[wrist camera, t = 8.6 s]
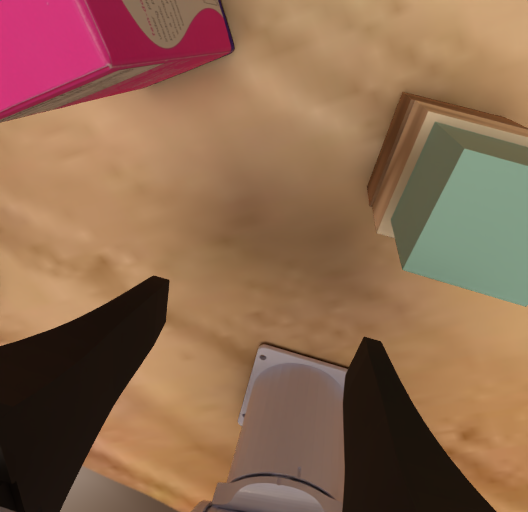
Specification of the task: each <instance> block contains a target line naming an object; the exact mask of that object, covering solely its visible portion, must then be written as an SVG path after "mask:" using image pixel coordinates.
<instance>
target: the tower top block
mask: <svg viewBox="0 0 528 512" xmlns="http://www.w3.org/2000/svg"><path fill="white" fill-rule="evenodd" d="M435 122H438V123H442V124H446V125H449V126H453V127H456V128H460V129H464V130H467V131H471V132H475V133H478V134H482V135H485V136H489V137H493V138H496V139H500V140H504V141H507V142H511V143H514V144H518V145H522V146H525V147H528V130H527V129H524V128H520V127H516V126H512V125H508V124H504V123H501V122H497V121H493V120H489V119H485V118H482V117H478V116H474V115H470V114H466V113H462V112H459V111H455V110H451V109H447V108H443V107H439V106H436V105H432V104H428V103H424V102H420V101H417V100H415V102H414V104H413V107H412V109H411V112H410V114H409V117H408V119H407V122H406V124H405V127H404V129H403V132H402V134H401V137H400V139H399V142H398V144H397V147H396V149H395V152H394V154H393V157H392V159H391V162H390V164H389V167H388V169H387V171H386V174H385V176H384V179H383V181H382V184H381V186H380V189H379V191H378V194H377V196H376V199H375V201H374V204H373V206H372V207H373V214H374V220H375V227H376V233H378V234H382V235H385V236H389V237H392V238H395V237H394V232H393V228H392V224H391V218H392V216H393V213H394V211H395V209H396V207H397V204H398V202H399V200H400V198H401V196H402V193H403V191H404V189H405V187H406V185H407V182H408V180H409V178H410V176H411V174H412V171H413V169H414V167H415V165H416V162H417V160H418V158H419V156H420V154H421V151H422V149H423V147H424V145H425V143H426V140H427V138H428V136H429V134H430V131H431V129H432V127H433V125H434V123H435Z"/></svg>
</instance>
